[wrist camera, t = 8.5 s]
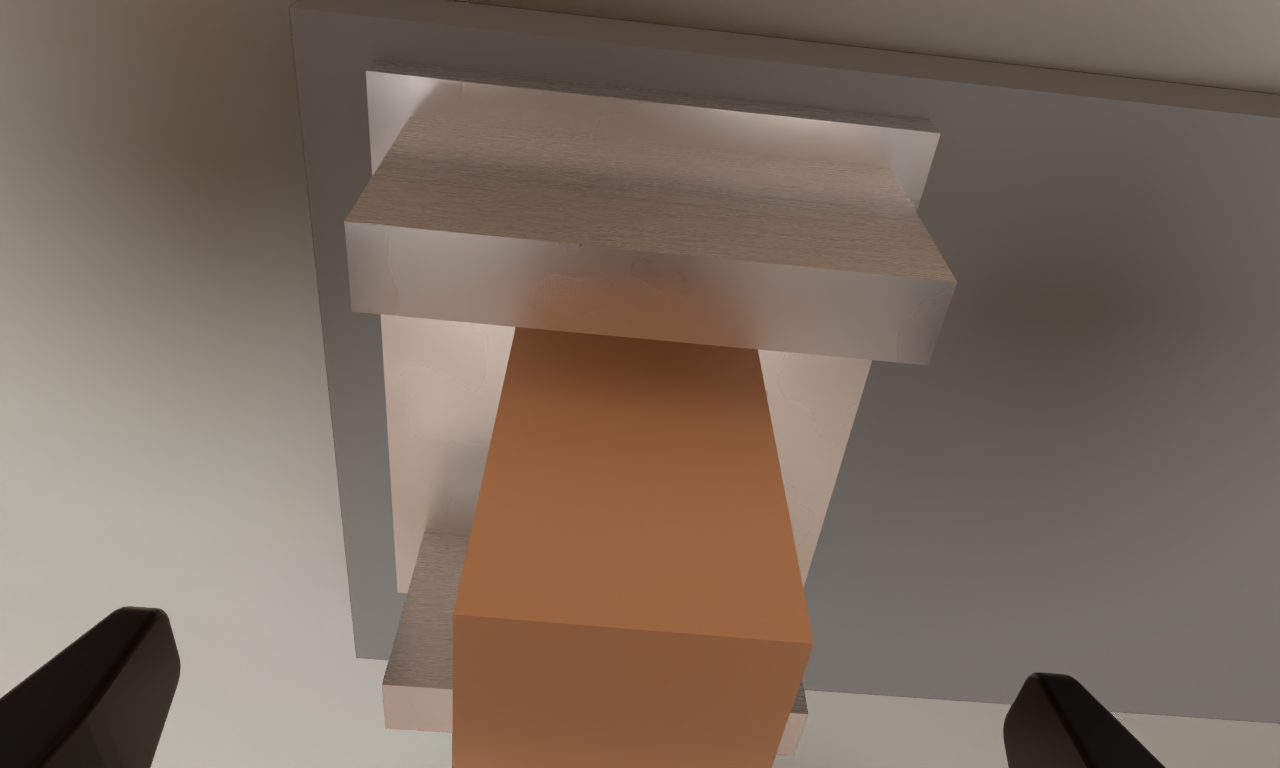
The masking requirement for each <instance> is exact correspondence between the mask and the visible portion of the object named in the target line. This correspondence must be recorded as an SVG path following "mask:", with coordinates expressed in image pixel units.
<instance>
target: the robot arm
mask: <svg viewBox="0 0 1280 768" xmlns="http://www.w3.org/2000/svg"><path fill="white" fill-rule="evenodd" d="M179 676H180V658H179V654H178V650H177V647H176V643H175V639H174V636H173V632H172V628H171V625H170V621H169V618H168V616H167V614H166V613H165V612H164V611H163V610H162V609H158V608H146V607H132V606H128V607H122V608H120V609H117V610H115V611H114V612H112V613H111V614H110V615H108V616H107V617H106V618H104V619H103V620H102V621H100V622H99V623H98V624H97V625H95V626H94V627H93V628H91V629H90V630H89V631H87V632H86V633H85V634H84V635H82V636H81V637H80V638H78V639H77V640H76V641H74V642H73V643H72V644H71V645H69V646H68V647H67V648H65V649H64V650H63V651H61V652H60V653H59V654H58V655H56V656H55V657H54V658H52V659H51V660H50V661H48V662H47V663H46V664H44V665H43V666H42V667H41V668H39V669H38V670H37V671H35V672H34V673H33V674H31V675H30V676H29V677H28V678H26V679H25V680H24V681H22V682H21V683H20V684H18V685H17V686H16V687H15V688H13V689H12V690H11V691H9V692H8V693H7V694H5V695H4V696H3V697H2V698H0V768H150V767H151V764H152V761H153V758H154V755H155V752H156V749H157V746H158V743H159V740H160V737H161V734H162V731H163V728H164V724H165V721H166V718H167V715H168V712H169V709H170V706H171V703H172V700H173V697H174V694H175V691H176V688H177V685H178V681H179ZM1003 735H1004V744H1005V749H1006V755H1007V760H1008V766H1009V768H1165V767H1164V766H1163V765H1162V764H1161V763H1160V762H1159V761H1158V760H1157V759H1156V758H1155V757H1154V756H1153V755H1152V754H1151V753H1150V752H1149V751H1148V750H1147V749H1146V748H1145V747H1144V746H1143V745H1142V744H1141V743H1140V742H1139V741H1138V740H1137V739H1136V738H1135V737H1134V736H1133V735H1132V734H1131V733H1130V732H1129V731H1128V730H1127V729H1126V728H1125V727H1124V726H1123V725H1122V724H1121V723H1120V722H1119V721H1118V720H1117V719H1116V718H1115V717H1114V716H1113V715H1112V714H1111V713H1110V712H1109V711H1108V710H1107V709H1106V708H1105V707H1104V706H1103V705H1102V704H1101V703H1100V702H1099V701H1098V700H1097V699H1096V698H1095V697H1094V696H1093V695H1092V694H1091V693H1090V692H1089V691H1088V690H1087V689H1086V688H1085V687H1084V686H1083V685H1082V684H1081V683H1080V682H1078V681H1077V680H1076V679H1075V678H1073V677H1071V676H1069V675H1066V674H1057V673H1043V672H1035V673H1033V674H1031V675H1030V676H1028V677H1027V679H1026V680H1025V682H1024V684H1023V686H1022V688H1021V690H1020V691H1019V693H1018V695H1017V697H1016V699H1015V701H1014V702H1013V704H1012V706H1011V708H1010V710H1009V712H1008V713H1007V715H1006V718H1005V722H1004V729H1003Z"/></svg>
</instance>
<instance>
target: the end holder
mask: <svg viewBox="0 0 1280 768" xmlns="http://www.w3.org/2000/svg"><path fill="white" fill-rule="evenodd" d="M366 84H367V100H368V117H369V133H370V150H371V166H372V178H371V179H370V181H369V183H368V184H367V186H366V187H365V189H364V191H363V192H362V194H361V195H360V197H359V199H358V200H357V202H356V203H355V205H354V207H353V208H352V210H351V211H350V213H349V215H348V216H347V218H346V219H345V221H344V224H345V236H346V248H347V260H348V273H349V285H350V297H351V310H352V312H361V313H372V314H381V330H382V347H383V363H384V380H385V396H386V412H387V429H388V445H389V462H390V478H391V495H392V511H393V527H394V544H395V560H396V577H397V593H407V596H406V600H405V604H404V607H403V611H402V614H401V618H400V622H399V625H398V629H397V632H396V636H395V640H394V643H393V647H392V650H391V654H390V658H389V661H388V665H387V669H386V672H385V676H384V679H383V683H382V690H383V703H384V715H385V727H386V728H389V729H404V730H419V731H434V732H449V733H452V719H453V612H454V607H455V603H456V598H457V594H458V589H459V584H460V580H461V575H462V571H463V566H464V561H465V557H466V552H467V548H468V543H469V539H470V534H471V529H472V525H473V520H474V516H475V511H476V506H477V502H478V497H479V493H480V488H481V483H482V479H483V474H484V470H485V465H486V461H487V456H488V451H489V447H490V442H491V438H492V433H493V428H494V424H495V419H496V415H497V410H498V405H499V401H500V396H501V392H502V387H503V382H504V378H505V373H506V369H507V364H508V360H509V355H510V350H511V346H512V341H513V337H514V332H515V327H522V328H533V329H544V330H554V331H565V332H576V333H586V334H597V335H608V336H619V337H629V338H640V339H651V340H662V341H672V342H683V343H694V344H705V345H715V346H726V347H737V348H748V349H758V353H759V358H760V363H761V369H762V374H763V379H764V384H765V390H766V395H767V400H768V405H769V411H770V416H771V421H772V426H773V432H774V437H775V442H776V447H777V453H778V458H779V463H780V468H781V474H782V479H783V484H784V489H785V495H786V500H787V505H788V510H789V516H790V521H791V526H792V531H793V537H794V542H795V547H796V552H797V558H798V563H799V568H800V573H801V579H802V584H803V588H804V585H805V581H806V578H807V575H808V571H809V568H810V565H811V561H812V558H813V555H814V552H815V548H816V545H817V542H818V538H819V535H820V532H821V528H822V525H823V522H824V518H825V515H826V512H827V508H828V505H829V502H830V498H831V495H832V492H833V489H834V485H835V482H836V479H837V475H838V472H839V469H840V465H841V462H842V459H843V455H844V452H845V449H846V445H847V442H848V439H849V436H850V432H851V429H852V426H853V422H854V419H855V416H856V412H857V409H858V406H859V402H860V399H861V396H862V392H863V389H864V386H865V382H866V379H867V376H868V373H869V369H870V366H871V363H872V360H876V361H887V362H898V363H909V364H919V365H929V362H930V359H931V356H932V353H933V350H934V348H935V345H936V342H937V339H938V336H939V333H940V330H941V327H942V324H943V321H944V319H945V316H946V313H947V310H948V307H949V304H950V301H951V298H952V295H953V292H954V290H955V287H956V284H957V281H956V279H955V277H954V276H953V274H952V272H951V271H950V269H949V267H948V265H947V264H946V262H945V260H944V259H943V257H942V255H941V253H940V252H939V250H938V248H937V247H936V245H935V243H934V242H933V240H932V238H931V236H930V235H929V233H928V231H927V230H926V228H925V226H924V224H923V223H922V221H921V219H920V218H919V216H918V214H917V210H918V207H919V203H920V200H921V197H922V194H923V190H924V187H925V184H926V180H927V177H928V174H929V170H930V167H931V164H932V160H933V157H934V154H935V150H936V147H937V144H938V140H939V137H940V134H941V133H940V132H939V131H938V129H937V128H936V127H935V125H934V124H933V123H932V121H931V120H928V119H919V118H910V117H900V116H891V115H882V114H873V113H864V112H855V111H846V110H836V109H827V108H818V107H809V106H800V105H791V104H782V103H772V102H763V101H754V100H745V99H736V98H727V97H718V96H709V95H699V94H690V93H681V92H672V91H663V90H654V89H645V88H635V87H626V86H617V85H608V84H599V83H590V82H581V81H571V80H562V79H553V78H544V77H535V76H526V75H517V74H507V73H498V72H489V71H480V70H471V69H462V68H453V67H443V66H434V65H425V64H416V63H407V62H398V61H389V60H380V59H375V61H374V62H373V63H372V64H371V65H370V66H369V68H368V69H367V70H366ZM807 716H808V711H807V705H806V699H805V693H804V687H803V681H802V680H801V683H800V686H799V689H798V692H797V694H796V697H795V700H794V703H793V706H792V709H791V712H790V715H789V718H788V721H787V724H786V727H785V729H784V732H783V735H782V738H781V741H780V744H779V747H778V750H777V753H776V754H778V755H793V756H794V754H795V751H796V748H797V745H798V742H799V739H800V736H801V733H802V731H803V728H804V725H805V722H806V719H807Z"/></svg>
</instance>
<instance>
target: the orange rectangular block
mask: <svg viewBox="0 0 1280 768" xmlns="http://www.w3.org/2000/svg"><path fill="white" fill-rule="evenodd" d="M813 645H814V642H813V636H812V631H811V626H810V621H809V615H808V610H807V605H806V600H805V594H804V589H803V584H802V579H801V573H800V568H799V563H798V558H797V552H796V547H795V542H794V537H793V531H792V526H791V521H790V516H789V510H788V505H787V500H786V495H785V489H784V484H783V479H782V474H781V468H780V463H779V458H778V453H777V447H776V442H775V437H774V432H773V426H772V421H771V416H770V411H769V405H768V400H767V395H766V390H765V384H764V379H763V374H762V369H761V363H760V358H759V353H758V349H748V348H737V347H726V346H715V345H705V344H694V343H683V342H672V341H662V340H651V339H640V338H629V337H619V336H608V335H597V334H586V333H576V332H565V331H554V330H544V329H533V328H522V327H515V332H514V337H513V341H512V346H511V350H510V355H509V360H508V364H507V369H506V373H505V378H504V382H503V387H502V392H501V396H500V401H499V405H498V410H497V415H496V419H495V424H494V428H493V433H492V438H491V442H490V447H489V451H488V456H487V461H486V465H485V470H484V474H483V479H482V483H481V488H480V493H479V497H478V502H477V506H476V511H475V516H474V520H473V525H472V529H471V534H470V539H469V543H468V548H467V552H466V557H465V561H464V566H463V571H462V575H461V580H460V584H459V589H458V594H457V598H456V603H455V607H454V612H453V719H452V768H771V767H772V764H773V761H774V759H775V756H776V753H777V750H778V747H779V744H780V741H781V738H782V735H783V732H784V729H785V727H786V724H787V721H788V718H789V715H790V712H791V709H792V706H793V703H794V700H795V697H796V694H797V692H798V689H799V686H800V683H801V680H802V677H803V674H804V671H805V668H806V665H807V662H808V660H809V657H810V654H811V651H812V648H813Z"/></svg>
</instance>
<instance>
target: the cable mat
mask: <svg viewBox="0 0 1280 768" xmlns="http://www.w3.org/2000/svg"><path fill="white" fill-rule="evenodd" d="M289 15H290V24H291V34H292V43H293V53H294V63H295V72H296V82H297V92H298V101H299V111H300V120H301V130H302V140H303V149H304V159H305V169H306V178H307V188H308V198H309V207H310V217H311V226H312V236H313V246H314V255H315V265H316V275H317V284H318V294H319V304H320V313H321V323H322V332H323V342H324V352H325V361H326V371H327V381H328V390H329V400H330V409H331V419H332V429H333V438H334V448H335V458H336V467H337V477H338V487H339V496H340V506H341V515H342V525H343V535H344V544H345V554H346V564H347V573H348V583H349V592H350V602H351V612H352V621H353V631H354V641H355V650H356V658H364V659H378V660H389V658H390V654H391V650H392V647H393V643H394V640H395V636H396V632H397V629H398V625H399V622H400V618H401V614H402V611H403V607H404V604H405V600H406V596H407V593H397V577H396V560H395V544H394V527H393V511H392V495H391V478H390V462H389V445H388V429H387V412H386V396H385V380H384V363H383V347H382V330H381V314H372V313H361V312H352V310H351V297H350V285H349V273H348V260H347V248H346V236H345V224H344V221H345V219H346V218H347V216H348V215H349V213H350V211H351V210H352V208H353V207H354V205H355V203H356V202H357V200H358V199H359V197H360V195H361V194H362V192H363V191H364V189H365V187H366V186H367V184H368V183H369V181H370V179H371V178H372V166H371V150H370V133H369V117H368V100H367V84H366V70H367V69H368V68H369V66H370V65H371V64H372V63H373V62H374V61H375V59H380V60H389V61H398V62H407V63H416V64H425V65H434V66H443V67H453V68H462V69H471V70H480V71H489V72H498V73H507V74H517V75H526V76H535V77H544V78H553V79H562V80H571V81H581V82H590V83H599V84H608V85H617V86H626V87H635V88H645V89H654V90H663V91H672V92H681V93H690V94H699V95H709V96H718V97H727V98H736V99H745V100H754V101H763V102H772V103H782V104H791V105H800V106H809V107H818V108H827V109H836V110H846V111H855V112H864V113H873V114H882V115H891V116H900V117H910V118H919V119H928V120H931V121H932V123H933V124H934V125H935V127H936V128H937V129H938V131H939V132H940V133H941V134H940V137H939V140H938V144H937V147H936V150H935V154H934V157H933V160H932V164H931V167H930V170H929V174H928V177H927V180H926V184H925V187H924V190H923V194H922V197H921V200H920V203H919V207H918V210H917V214H918V216H919V218H920V219H921V221H922V223H923V224H924V226H925V228H926V230H927V231H928V233H929V235H930V236H931V238H932V240H933V242H934V243H935V245H936V247H937V248H938V250H939V252H940V253H941V255H942V257H943V259H944V260H945V262H946V264H947V265H948V267H949V269H950V271H951V272H952V274H953V276H954V277H955V279H956V281H957V284H956V287H955V290H954V292H953V295H952V298H951V301H950V304H949V307H948V310H947V313H946V316H945V319H944V321H943V324H942V327H941V330H940V333H939V336H938V339H937V342H936V345H935V348H934V350H933V353H932V356H931V359H930V362H929V365H919V364H909V363H898V362H887V361H876V360H872V363H871V366H870V369H869V373H868V376H867V379H866V382H865V386H864V389H863V392H862V396H861V399H860V402H859V406H858V409H857V412H856V416H855V419H854V422H853V426H852V429H851V432H850V436H849V439H848V442H847V445H846V449H845V452H844V455H843V459H842V462H841V465H840V469H839V472H838V475H837V479H836V482H835V485H834V489H833V492H832V495H831V498H830V502H829V505H828V508H827V512H826V515H825V518H824V522H823V525H822V528H821V532H820V535H819V538H818V542H817V545H816V548H815V552H814V555H813V558H812V561H811V565H810V568H809V571H808V575H807V578H806V581H805V585H804V588H803V589H804V594H805V600H806V605H807V610H808V615H809V621H810V626H811V631H812V636H813V642H814V645H813V648H812V651H811V654H810V657H809V660H808V662H807V665H806V668H805V671H804V674H803V677H802V681H803V687H804V690H814V691H828V692H842V693H856V694H870V695H885V696H899V697H913V698H927V699H941V700H955V701H969V702H983V703H997V704H1011V705H1012V704H1013V702H1014V701H1015V699H1016V697H1017V695H1018V693H1019V691H1020V690H1021V688H1022V686H1023V684H1024V682H1025V680H1026V679H1027V677H1028V676H1030V675H1031V674H1033V673H1035V672H1043V673H1057V674H1066V675H1069V676H1071V677H1073V678H1075V679H1076V680H1077V681H1078V682H1080V683H1081V684H1082V685H1083V686H1084V687H1085V688H1086V689H1087V690H1088V691H1089V692H1090V693H1091V694H1092V695H1093V696H1094V697H1095V698H1096V699H1097V700H1098V701H1099V702H1100V703H1101V704H1102V705H1103V706H1104V707H1105V708H1106V709H1107V710H1108V711H1110V712H1124V713H1138V714H1152V715H1166V716H1180V717H1194V718H1208V719H1222V720H1236V721H1250V722H1264V723H1278V724H1280V95H1275V94H1267V93H1258V92H1249V91H1240V90H1232V89H1223V88H1214V87H1205V86H1196V85H1188V84H1179V83H1170V82H1161V81H1152V80H1144V79H1135V78H1126V77H1117V76H1108V75H1100V74H1091V73H1082V72H1073V71H1064V70H1056V69H1047V68H1038V67H1029V66H1020V65H1012V64H1003V63H994V62H985V61H976V60H968V59H959V58H950V57H941V56H932V55H924V54H915V53H906V52H897V51H889V50H880V49H871V48H862V47H853V46H845V45H836V44H827V43H818V42H809V41H801V40H792V39H783V38H774V37H765V36H757V35H748V34H739V33H730V32H721V31H713V30H704V29H695V28H686V27H677V26H669V25H660V24H651V23H642V22H633V21H625V20H616V19H607V18H598V17H589V16H581V15H572V14H563V13H554V12H546V11H537V10H528V9H519V8H510V7H502V6H493V5H484V4H475V3H466V2H458V1H449V0H298V1H296V2H295V3H294V4H292V5H291V6H290V7H289Z"/></svg>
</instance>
